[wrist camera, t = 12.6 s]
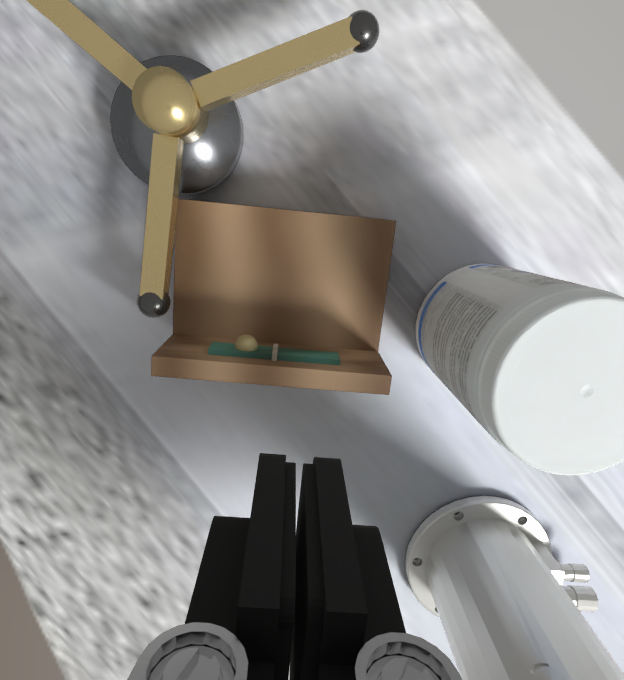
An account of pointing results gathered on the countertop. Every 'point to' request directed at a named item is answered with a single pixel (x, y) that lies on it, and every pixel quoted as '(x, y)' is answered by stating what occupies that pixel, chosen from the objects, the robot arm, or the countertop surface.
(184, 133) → the tan branched rod piece
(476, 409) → the supplement tub
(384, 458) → the countertop surface
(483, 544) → the robot arm
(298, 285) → the level stand
